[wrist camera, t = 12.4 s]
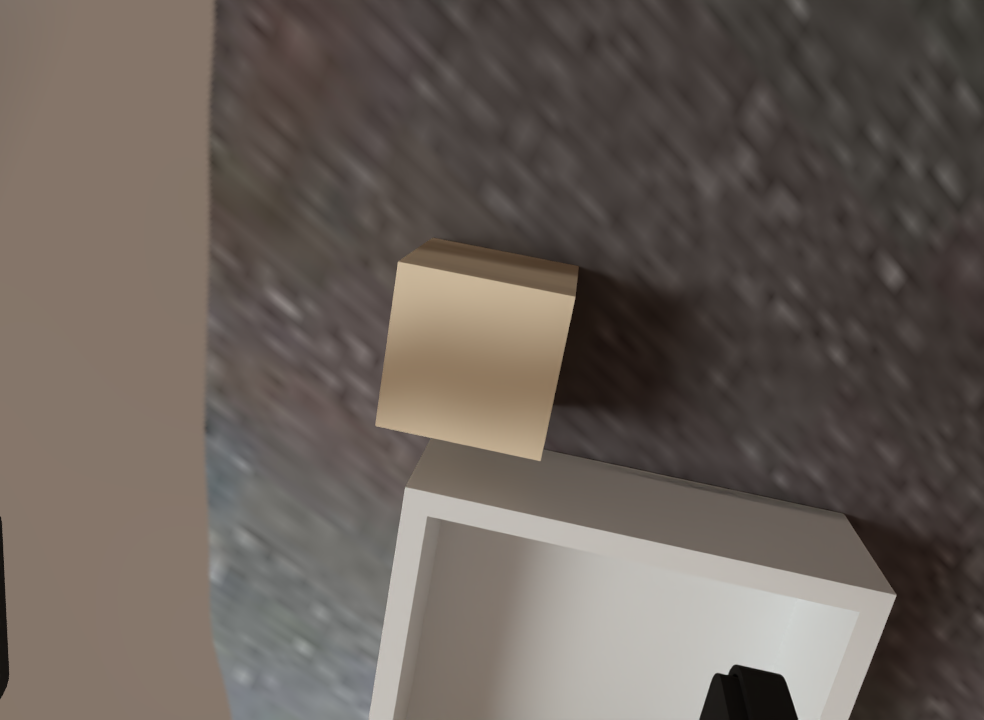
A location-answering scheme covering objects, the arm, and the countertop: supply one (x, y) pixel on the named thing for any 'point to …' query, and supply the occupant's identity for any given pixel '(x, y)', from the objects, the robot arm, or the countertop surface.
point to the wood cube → (476, 346)
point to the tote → (613, 594)
